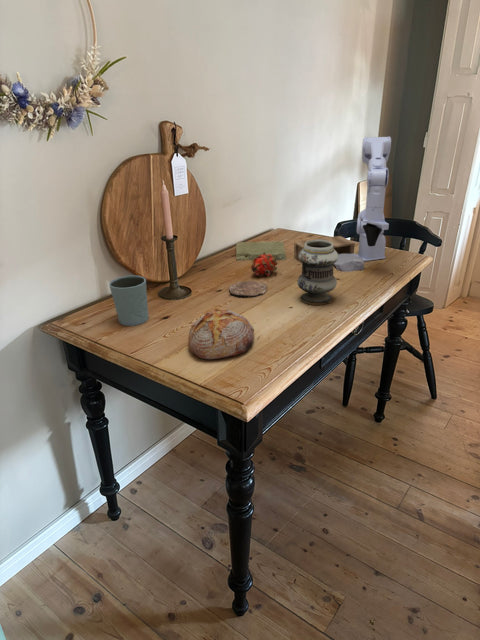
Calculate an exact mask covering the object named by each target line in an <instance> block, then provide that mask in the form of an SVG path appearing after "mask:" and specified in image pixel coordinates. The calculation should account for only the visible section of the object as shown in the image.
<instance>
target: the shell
mask: <svg viewBox="0 0 480 640" xmlns="http://www.w3.org/2000/svg"><path fill="white" fill-rule="evenodd" d="M228 291H229V293H230V294H231V296H234V297H237V298H252V299H253V298H256V297H257V298H258V297H261V296H264V295H265V294H266V293H267V291H268V284H267V283H263V282H256V281H253V280H244V281H238V282H235V283H232V284H230V285H229V288H228Z"/></svg>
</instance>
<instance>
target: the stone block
mask: <svg viewBox="0 0 480 640" xmlns="http://www.w3.org/2000/svg"><path fill="white" fill-rule="evenodd" d="M355 254H356V253H355V252H354V253H353V254H345V253H344V254H339V253H338V260H337V261H336V262H335V263H334V266H335V268H336V270H338V271H340V272H342V273H343V272H344V273H345V272H346V273H347V272H354V271H363V270H364V268H365V261H364V260H363V259H362V258H361V257H357V256H356V255H355Z"/></svg>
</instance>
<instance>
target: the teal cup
mask: <svg viewBox="0 0 480 640" xmlns="http://www.w3.org/2000/svg"><path fill="white" fill-rule="evenodd" d="M108 285H109V290H110V291H111V296H112V301H113V304H114V308H115V312H116V315H117V319H118V322H119V324H120V325H122V326H127V327H132V326H133V327H134V326H140V325H142V324H144V323H146V322H147V321H148V320H149V306H148V294H147V279H146V278H145V277H144V276H141V275H124V276H120V277H117V278H115V279H112V280H111V281H110V282H109V284H108Z"/></svg>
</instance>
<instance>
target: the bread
mask: <svg viewBox="0 0 480 640" xmlns="http://www.w3.org/2000/svg"><path fill="white" fill-rule="evenodd" d="M254 333H255V329H254V326H253V325H252V323H251V322H250V321H249V320H248V319H247V318H246V317H244V316H243V315H241V314H239V313H236V312H235V311H232V310H230V309H222V310H220V309H217V308H216V309H215V310H212V311H209V312H206V313H205V314H204V315H202V316H201V317H199V318H198V319H197V320H196V321H195V322H194V323H192V324H191V328H190V329H189V332H188V341H187V342H188V344H187V346H188V348H189V349H190V352H192V353H193V355H195V356H196V357H198V358H200V359H202V360H219V359H220V360H221V359H225V358H230V357H235V356H238V355H241V354H244V353H247V351H248V349H250V347H252V344H253V340H254V339H255V337H254V335H255V334H254Z"/></svg>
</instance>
